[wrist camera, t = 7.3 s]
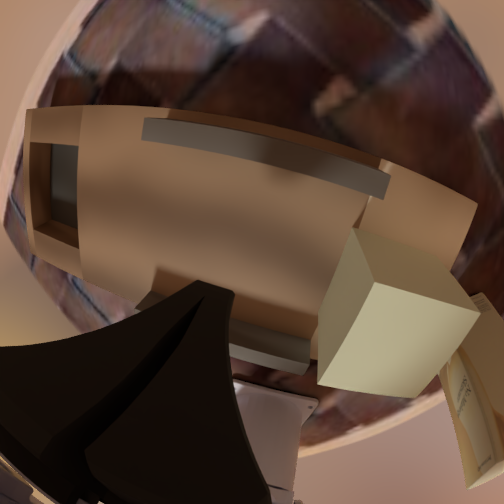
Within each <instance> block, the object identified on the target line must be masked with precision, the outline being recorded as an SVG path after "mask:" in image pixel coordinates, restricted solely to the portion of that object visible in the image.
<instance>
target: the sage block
mask: <svg viewBox="0 0 504 504" xmlns="http://www.w3.org/2000/svg"><path fill="white" fill-rule="evenodd" d="M480 314H481V313H480V311H479V310H478V308H477V307H476V305H475V304H474V303H473V301H472V300H471V299H470V297H469V296H468V295H467V293H466V292H465V291H464V289H463V288H462V287H461V285H460V284H459V283H458V282H457V280H456V279H455V278H454V277H453V275H452V274H451V273H450V272H449V270H448V269H447V268H446V267H445V266H444V264H443V263H442V262H441V261H440V260H439V258H438V257H437V256H435V255H432V254H429V253H427V252H424V251H421V250H418V249H416V248H413V247H410V246H407V245H404V244H402V243H399V242H396V241H393V240H390V239H387V238H384V237H381V236H378V235H375V234H372V233H369V232H366V231H363V230H360V229H357V228H354V227H352V229H351V232H350V234H349V237H348V240H347V243H346V245H345V248H344V251H343V253H342V256H341V258H340V261H339V263H338V266H337V268H336V271H335V273H334V276H333V278H332V281H331V283H330V286H329V288H328V290H327V293H326V295H325V297H324V300H323V302H322V304H321V307H320V309H319V311H318V375H317V384H318V385H323V386H328V387H333V388H339V389H345V390H351V391H357V392H364V393H371V394H379V395H387V396H396V397H407V398H416V397H417V396H418V395H419V394H420V392H421V391H422V390H423V389H424V388H425V387H426V386H427V385H428V384H429V383H430V381H431V380H432V379H433V378H434V377H435V376H436V374H437V373H438V372H439V371H440V370H441V368H442V367H443V366H444V365H445V363H446V362H447V361H448V360H449V358H450V357H451V356H452V354H453V353H454V352H455V351H456V349H457V348H458V346H459V345H460V344H461V342H462V341H463V340H464V338H465V337H466V335H467V334H468V332H469V331H470V329H471V328H472V326H473V325H474V323H475V322H476V320H477V319H478V317H479V315H480Z"/></svg>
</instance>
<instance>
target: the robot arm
mask: <svg viewBox="0 0 504 504" xmlns="http://www.w3.org/2000/svg"><path fill="white" fill-rule="evenodd" d="M234 298H235V293H234V292H233V290H229V289H226V288H223V287H220V286H216V285H213V284H210V283H207V282H204V281H201V280H196V281H194V282H192V283H191V284H189V285H187V286H186V287H184V288H182V289H181V290H179V291H177V292H175V293H174V294H172V295H170V296H169V297H167V298H165V299H163V300H162V301H160V302H158V303H156V304H154V305H153V306H151V307H149V308H147V309H145V310H143V311H141V312H139V313H137V314H135V315H133V316H130V317H128V318H126V319H124V320H122V321H119V322H117V323H114V324H112V325H109V326H106V327H104V328H101V329H98V330H95V331H92V332H88V333H85V334H81V335H78V336H74V337H71V338H67V339H62V340H57V341H52V342H46V343H41V344H33V345H24V346H5V347H0V456H1V457H2V458H3V459H4V460H5V461H6V462H7V463H8V464H9V465H10V466H11V467H12V468H13V469H14V470H15V471H14V470H13V469H12V468H11V467H10V466H8V465H7V464H6V463H4V462H3V461H2V460H1V459H0V504H43V503H42V502H41V501H39V500H38V499H37V498H35V497H34V496H33V495H31V494H32V493H33V488H32V487H31V486H30V485H29V484H28V483H27V482H29V483H30V484H31V485H32V486H33V487H34V488H36V489H37V490H38V491H39V492H41V493H42V494H43V495H44V496H46V497H47V498H48V499H50V500H51V501H52V502H54V503H55V504H98V502H99V501H100V502H102V503H104V504H292V501H293V496H294V491H293V485H294V478H295V471H296V465H297V457H298V449H299V441H300V433H301V426H302V425H303V423H304V422H305V421H306V420H307V418H308V417H309V416H310V415H311V413H312V412H313V411H314V410H315V408H316V407H317V406H318V400H317V399H315V398H310V397H305V396H300V395H295V394H291V393H287V392H282V391H278V390H274V389H270V388H266V387H262V386H258V385H255V384H251V383H247V382H244V381H240V380H237V379H233V377H232V371H231V363H230V352H229V320H230V315H231V311H232V306H233V302H234ZM17 472H18V473H19V474H20V475H21V476H20V475H19V474H18V473H17ZM26 481H27V482H26ZM294 504H303V502H302V501H301V500H295V501H294Z"/></svg>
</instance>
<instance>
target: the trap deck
mask: <svg viewBox="0 0 504 504" xmlns="http://www.w3.org/2000/svg"><path fill="white" fill-rule="evenodd" d="M23 183H24V201H25V213H26V223H27V231H28V238H29V245H30V251H31V253H32V254H34V255H36V256H37V257H39V258H41V259H43V260H45V261H47V262H49V263H51V264H52V265H54V266H56V267H58V268H60V269H62V270H64V271H66V272H68V273H70V274H72V275H74V276H76V277H79V278H81V279H83V280H85V281H87V282H89V283H91V284H93V285H96V286H98V287H100V288H102V289H105V290H107V291H109V292H111V293H114V294H116V295H118V296H121V297H123V298H125V299H128V300H130V301H133V302H135V303H137V304H138V305H137V306H136V307H135V308H134V311H135V314H137V313H139V312H141V311H143V310H145V309H147V308H149V307H151V306H153V305H154V304H156V303H158V302H160V301H162V300H163V299H165V298H167V297H169V296H170V295H172V294H174V293H175V292H177V291H179V290H181V289H182V288H184V287H186V286H187V285H189V284H191V283H192V282H194V281H196V280H201V281H204V282H207V283H210V284H213V285H216V286H220V287H223V288H226V289H229V290H233V292H234V293H235V298H234V302H233V306H232V311H231V315H230V320H229V352H230V356H231V357H234V358H238V359H241V360H244V361H248V362H251V363H255V364H258V365H262V366H266V367H269V368H273V369H277V370H281V371H285V372H289V373H293V374H298V375H302V376H303V375H304V374H305V372H306V370H307V368H308V367H309V365H310V358H311V359H315V360H318V311H319V309H320V307H321V304H322V302H323V300H324V297H325V295H326V293H327V290H328V288H329V286H330V283H331V281H332V278H333V276H334V273H335V271H336V268H337V266H338V263H339V261H340V258H341V256H342V253H343V251H344V248H345V245H346V243H347V240H348V237H349V234H350V232H351V229H352V227H354V228H357V229H360V230H363V231H366V232H369V233H372V234H375V235H378V236H381V237H384V238H387V239H390V240H393V241H396V242H399V243H402V244H404V245H407V246H410V247H413V248H416V249H418V250H421V251H424V252H427V253H429V254H432V255H435V256H437V257H438V258H439V260H440V261H441V262H442V263H443V264H444V266H445V267H446V268H447V269H448V270H449V272H450V270H451V268H452V266H453V264H454V261H455V259H456V257H457V255H458V253H459V251H460V248H461V246H462V244H463V242H464V239H465V237H466V234H467V232H468V230H469V227H470V225H471V222H472V219H473V217H474V214H475V211H476V208H477V206H478V204H477V203H476V202H474V201H472V200H470V199H468V198H467V197H465V196H463V195H461V194H459V193H457V192H455V191H453V190H451V189H449V188H447V187H445V186H443V185H441V184H439V183H437V182H435V181H433V180H431V179H429V178H427V177H425V176H422V175H420V174H418V173H416V172H413V171H411V170H409V169H406V168H404V167H402V166H399V165H397V164H394V163H392V162H389V161H387V160H384V159H382V158H379V157H376V156H374V155H371V154H368V153H366V152H363V151H360V150H357V149H354V148H351V147H348V146H345V145H342V144H339V143H336V142H333V141H330V140H326V139H323V138H320V137H316V136H313V135H309V134H305V133H302V132H298V131H294V130H290V129H286V128H282V127H278V126H274V125H269V124H265V123H260V122H256V121H251V120H246V119H240V118H235V117H229V116H223V115H217V114H211V113H204V112H197V111H189V110H180V109H170V108H159V107H146V106H126V105H77V106H58V107H45V108H35V109H27V110H26V119H25V130H24V149H23Z"/></svg>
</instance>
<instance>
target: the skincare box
mask: <svg viewBox="0 0 504 504" xmlns="http://www.w3.org/2000/svg"><path fill="white" fill-rule="evenodd" d="M470 299H471V300H472V301H473V303H474V304H475V305H476V307H477V308H478V310H479V311H480V313H481V314H480V315H479V317H478V319H477V320H476V322H475V323H474V325H473V326H472V328H471V329H470V331H469V332H468V334H467V335H466V337H465V338H464V340H463V341H462V342H461V344H460V345H459V346H458V348H457V349H456V351H455V352H454V353H453V354H452V356H451V357H450V358H449V360H448V361H447V362H446V363H445V365H444V366H443V367H442V368H441V370H440V371H439V372H438V376H439V378H440V381H441V384H442V387H443V390H444V393H445V396H446V400H447V403H448V406H449V410H450V413H451V417H452V420H453V424H454V427H455V432H456V436H457V440H458V445H459V449H460V454H461V459H462V465H463V470H464V476H465V483H466V490H469V489H471V488H474V487H476V486H478V485H480V484H483V483H485V482H487V481H489V480H491V479H493V478H495V477H497V476H498V475H500V474H502V473H504V321H503V319H502V318H501V317H500V315H499V314H498V312H497V311H496V309H495V308H494V307H493V305H492V304H491V303H490V301H489V300H488V299H487V297H486V296H485V295H484V294H483V293H482V292H481V293H479V294H476V295H474V296H471V297H470Z"/></svg>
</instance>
